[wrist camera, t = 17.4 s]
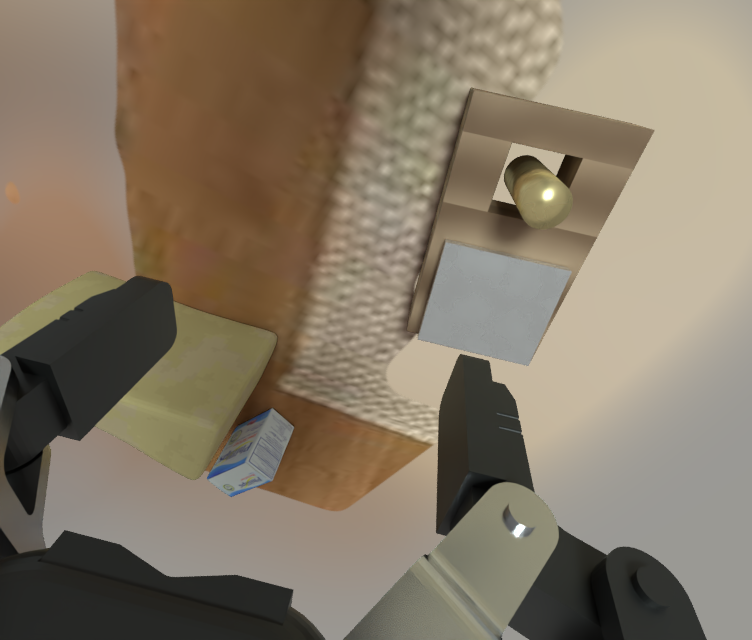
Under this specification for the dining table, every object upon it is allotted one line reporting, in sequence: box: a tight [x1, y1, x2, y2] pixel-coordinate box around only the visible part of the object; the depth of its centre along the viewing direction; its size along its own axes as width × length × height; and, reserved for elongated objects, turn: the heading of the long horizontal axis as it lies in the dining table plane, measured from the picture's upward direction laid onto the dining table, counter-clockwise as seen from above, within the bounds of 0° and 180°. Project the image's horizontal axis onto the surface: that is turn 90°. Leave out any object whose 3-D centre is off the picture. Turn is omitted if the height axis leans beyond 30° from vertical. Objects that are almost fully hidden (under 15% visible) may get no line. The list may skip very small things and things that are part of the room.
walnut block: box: [407, 88, 654, 360], centre depth 33 cm, size 20×12×4 cm, turn 170°
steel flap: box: [418, 239, 572, 366], centre depth 33 cm, size 9×10×1 cm
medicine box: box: [207, 408, 294, 497], centre depth 50 cm, size 8×4×9 cm, turn 128°
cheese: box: [0, 271, 277, 480], centre depth 39 cm, size 22×10×15 cm, turn 63°
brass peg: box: [504, 155, 573, 229], centre depth 28 cm, size 3×3×9 cm
